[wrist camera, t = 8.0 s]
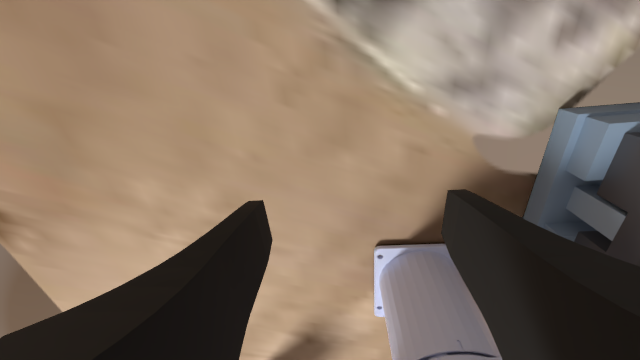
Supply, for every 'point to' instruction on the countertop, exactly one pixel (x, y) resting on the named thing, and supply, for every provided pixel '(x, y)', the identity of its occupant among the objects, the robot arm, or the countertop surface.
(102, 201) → the countertop surface
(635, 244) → the dark grey rectangular block
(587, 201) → the display stand
